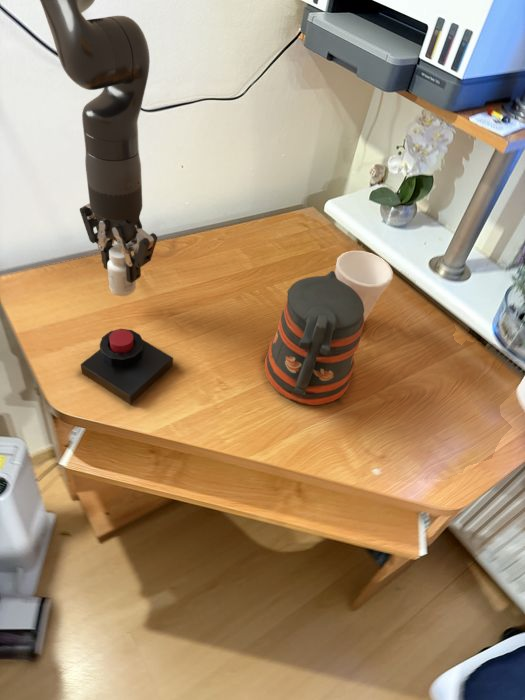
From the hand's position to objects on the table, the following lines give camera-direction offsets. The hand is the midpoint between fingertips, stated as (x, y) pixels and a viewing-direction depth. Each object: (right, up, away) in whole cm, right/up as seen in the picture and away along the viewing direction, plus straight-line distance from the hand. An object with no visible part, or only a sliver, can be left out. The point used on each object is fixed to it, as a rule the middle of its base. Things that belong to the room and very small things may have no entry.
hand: (121, 273), depth 86 cm
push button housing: (+2, -16, -3) cm, 17 cm away
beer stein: (+31, -18, 0) cm, 36 cm away
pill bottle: (0, -2, +2) cm, 4 cm away
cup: (+39, -8, +12) cm, 42 cm away
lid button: (+1, -12, -5) cm, 13 cm away
